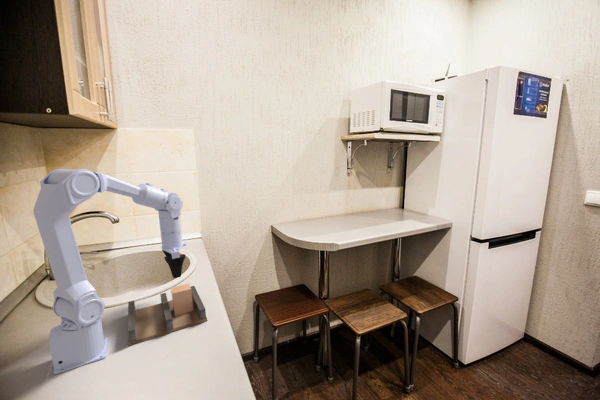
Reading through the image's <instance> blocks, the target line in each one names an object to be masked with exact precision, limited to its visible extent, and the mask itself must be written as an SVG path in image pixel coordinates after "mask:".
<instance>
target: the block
mask: <svg viewBox="0 0 600 400" xmlns="http://www.w3.org/2000/svg"><path fill="white" fill-rule="evenodd" d="M170 292H171V300H172V303H173V311H174V314H175V316H178V315H181V314H184V313H188V312H191V311H193V302H192V291H191V285H190V283H185V284H180V285H177V286H173V287H170Z"/></svg>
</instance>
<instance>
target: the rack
mask: <svg viewBox="0 0 600 400" xmlns="http://www.w3.org/2000/svg"><path fill="white" fill-rule="evenodd" d="M190 287H191V291H192V302H193V311H191V312H188V313H184V314H181V315H178V316H175V314H174V311H173V303H172V299H171V300H169V299H168V295H167V292H164V293H160V303H155V304H152V305H150V306H149V305H148V306H144V307H142V308H138V309H136V304H135V300H132V301H128V306H127V313H128V314H127V332H128V333H127V334H128V335H127V336H128V338H127V339H128V341H127V344H128V346H133V345H136V344H139V343H142V342H145V341H148V340H152V339H153V338H157V337H160V336H164V335H167V334H170V333H173V332H176V331H180V330H183V329H186V328H189V327H192V326H196V325H199V324H202V323H206V322H208V318H207V315H206V314H207V313H206V307H205V305H204V303H203V301H202V299H201V297H200V295H199V293H198V291H197V288H196V287H195V285H192V286H191V285H190Z"/></svg>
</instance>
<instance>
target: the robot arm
mask: <svg viewBox="0 0 600 400" xmlns="http://www.w3.org/2000/svg"><path fill="white" fill-rule="evenodd" d="M39 183H40V189H39V192H38V195H37V198H36V201H35V203H34V207H33V215H34V219H35V222H36V225H37V228H38V231H39V235H40V238H41V241H42V244H43V247H44V250H45V253H46V256H47V260H48V263H49V265H50V269H51V272H52V275H53V278H54V282H55V284H56V288H55V289H54V290H53V291H52V293H53V297H54V300H53V304H52V311H53V313H54V314H55V315H56V316H57V317H59V318H60V319H61V322H60V324H59V325H56V326H54V327H52V328H51V329H50V332H49V335H48V336H49V337H48V339H49V340H48V342H49V343H48V345H49V351H50V355H51V362H52V366H53V375H58V374H60V373H64V372H67V371H70V370H72V369H73V370H74V369H76V368H78V367H82V366H85V365H88V364H89V365H90V364H92V363H94V362H97V361H100V360H103V359H105V358H107V354H108V345H109V337H106V338H105V336H104V330H103V324H102V318H101V317H102V315H103V314H104V311H105V309H106V308H105V307H106V305H105V304H106V303H105V301H104V300H103V299H102V298H101V297H100V296H99V295H98V293H97V290H96V288H95V287H94V286H93V285H92V284H91V283H90V281H89V280H88V278H87V274H86V271H85V266H84V264H83V260H82V256H81V253H80V249H79V246H78V242H77V240H76V239H77V238H76V235H75V231H74V228H73V225H72V222H71V218H70V215H71V213H72V212H73V211H74V210H75V209H76V208H77V207H78V206H79V205H81V204H83V203H84V202H86V201H87V200H89V199H90V198H92V197H93V196H94V195H96V194H97V193H103V192H109V193H113V194H116V195H117V194H118V195H121V196H126V197H129V198H131V199H132V202H134V204H137V205H139V206H144V207H148V208H152V209H154V210H155V211H158V219H159V227H160V228H159V229H160V230H159V231H160V237H161V251H162V252H163V253H164V255H165V256H164V261H165V262H166V264H167V265H168V267H169V269H170V273H171V276H172V278H173V279H177V278H181V276H182V269H183V264H184V261H185V259H186V254H184V253H183V254H180V251H181V250H182V248H183V247H185V246H187V244H188V243H187V241H183V236H182V235H183V234H182V226H181V214H182V213H181V210H182V208H183V205H184V204H183V203H184V201H183V200H182V198H181V197H180V196H179V194H177V193H175V192H167V189H164V188H161V189H160V188H158V187H154V186H153V184H152V183H150V182H146V183H140V184H138V185H134V184H132V183H129V182H127V181H125V180H121V179H118V178H117V177H113V176H111V175H108V174H105V173H102V172H97V171H92V170H89V169H85V168H80V169H67V168H57V169H54V170H50V172H49V173H47V174H46V176H45V177H43V178H42V179H41V180H40V181H39Z"/></svg>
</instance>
